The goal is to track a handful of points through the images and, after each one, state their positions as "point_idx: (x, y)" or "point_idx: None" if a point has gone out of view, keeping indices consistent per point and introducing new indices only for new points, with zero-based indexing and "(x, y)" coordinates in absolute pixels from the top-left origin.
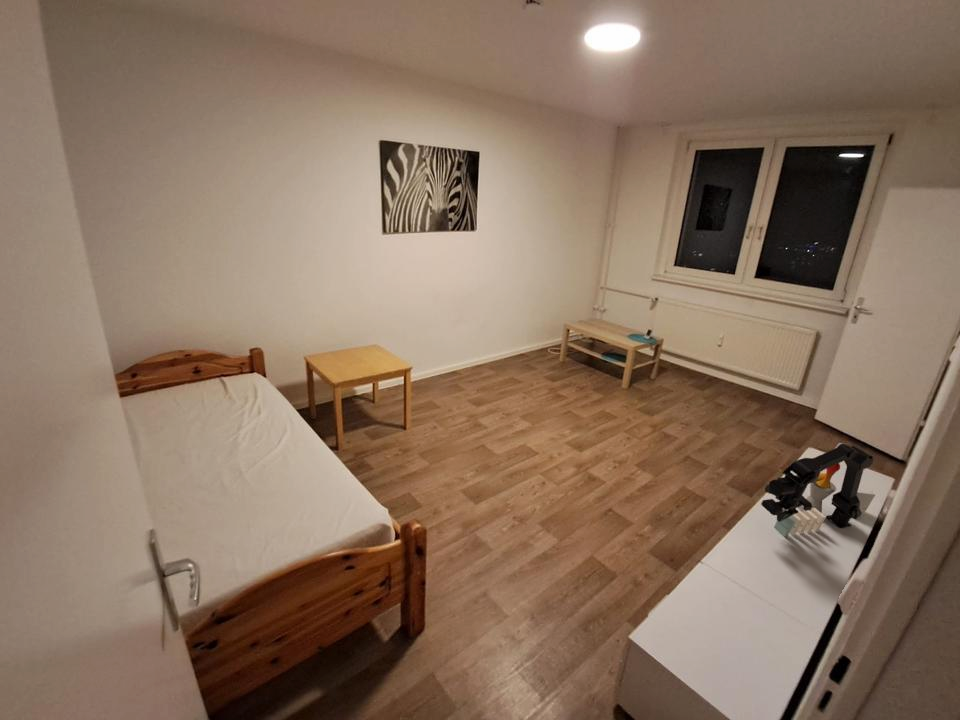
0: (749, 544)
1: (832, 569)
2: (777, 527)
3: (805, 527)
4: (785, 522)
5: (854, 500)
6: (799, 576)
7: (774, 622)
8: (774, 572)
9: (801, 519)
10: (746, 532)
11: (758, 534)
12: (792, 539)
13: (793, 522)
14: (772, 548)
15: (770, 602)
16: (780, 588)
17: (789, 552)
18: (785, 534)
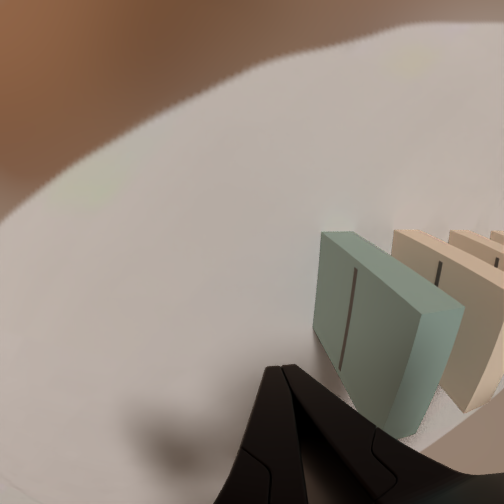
0: (10, 337)
1: None
2: (329, 267)
3: None
4: (366, 363)
5: None
6: (165, 490)
7: (13, 499)
8: (65, 460)
9: (492, 394)
10: (33, 249)
11: (112, 281)
12: None
13: (397, 433)
14: (135, 391)
15: (16, 485)
16: (59, 486)
17: (229, 422)
18: (322, 341)
